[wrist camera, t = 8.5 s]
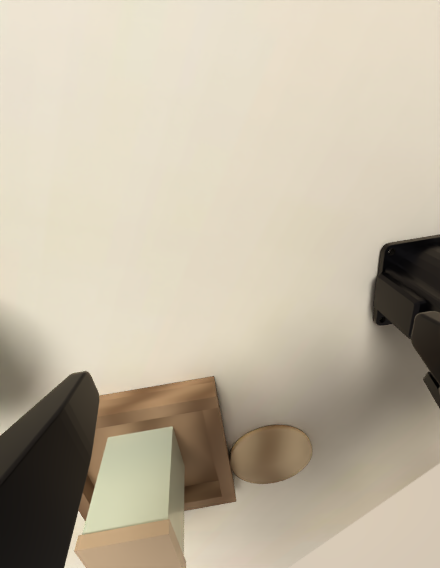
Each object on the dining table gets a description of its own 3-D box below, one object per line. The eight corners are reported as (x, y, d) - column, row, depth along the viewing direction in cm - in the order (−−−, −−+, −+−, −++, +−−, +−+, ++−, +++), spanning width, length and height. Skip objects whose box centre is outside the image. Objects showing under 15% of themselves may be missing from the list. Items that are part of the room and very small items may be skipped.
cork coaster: (297, 413, 27) (299, 418, 27) (318, 462, 31) (320, 467, 30) (216, 443, 28) (217, 448, 27) (246, 487, 31) (247, 492, 31)
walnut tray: (213, 376, 24) (215, 396, 22) (233, 478, 31) (236, 501, 29) (39, 405, 24) (27, 428, 22) (95, 503, 30) (89, 527, 28)
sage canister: (174, 424, 25) (168, 533, 18) (186, 466, 28) (186, 576, 21) (105, 436, 25) (74, 551, 18) (124, 477, 28) (103, 591, 21)
